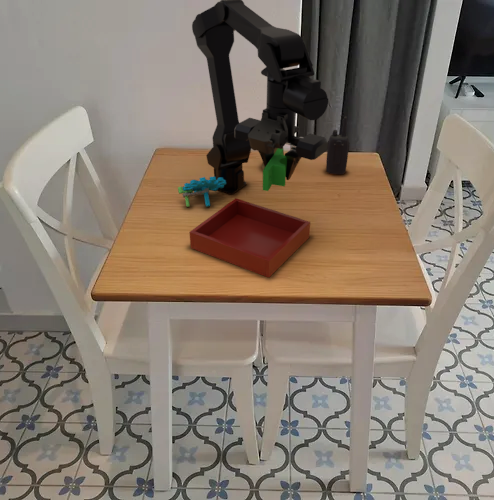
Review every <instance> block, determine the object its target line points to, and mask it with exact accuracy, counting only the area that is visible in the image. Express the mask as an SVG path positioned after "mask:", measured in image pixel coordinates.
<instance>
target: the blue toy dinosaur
mask: <svg viewBox="0 0 494 500" xmlns="http://www.w3.org/2000/svg"><path fill="white" fill-rule="evenodd" d="M183 184H184V186H178V187H177V191H178V194H179V195H180V194H181V195H182V198H184V200H185V205H186V208H189V207H190V206H191V204H190V199H189V198H191V197H192V198H193V197H197V196H203V197H204V203H205V207H207V208H208V207H211V201H210V195H209V194H210V191H213V192H217V191H219V190H218V188H224V185H226V180H224V179H223V178H221V177H219V178H218V179H217V180H216V177H215V176H214V175H213V176H209V179H207V178H206V177H205V176H202V177H199V180H196V179H191V180H189V182H186V183H183Z"/></svg>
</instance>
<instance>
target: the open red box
mask: <svg viewBox="0 0 494 500" xmlns="http://www.w3.org/2000/svg"><path fill="white" fill-rule="evenodd" d="M310 233H311V221H308V220H305V219H303V218H299V217H296V216H293V215H290V214H286V213H284V212H280V211H278V210H274V209H271V208H268V207H266V206H265V207H264V206H262V205H259V204H255V203H252V202H249V201H246V200H243V199H240V198H237V197H236V198H234V199H232V200H231V201H230V202H229V203H227V204H226V205H224V206H223V207H221V208H220V209H218V210H217V211H216V212H215V213H213V214H212V215H211V216H209V217H208V218H207V219H205V220H204V221H202V222H201V223H200V224H199V225H196V226H195V227H194V228H193V229H192V230H190V231H189V244H190V249H192V250H194V251H198V252H201V253H203V254H206V255H208V256H210V257H213V258H216V259H219V260H221V261H224V262H226V263H230V264H232V265H235V266H237V267H239V268H242V269H245V270H248V271H251V272H253V273H256V274H258V275H261V276H264V277H266V278H270V277H271V276H272V275H273V274H274V273H275V272H276V271H278V269H280V267H281V266H282V265H284V263H285V262H286V261H287V260H288V259H289V258H291V257H292V256H293V255H294V253H296V251H297V250H299V249H300V248H301V246H303V244H304V243H306V242H307V240H308V239H310Z"/></svg>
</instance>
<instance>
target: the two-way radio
mask: <svg viewBox="0 0 494 500" xmlns="http://www.w3.org/2000/svg"><path fill="white" fill-rule="evenodd" d="M347 126H348V117H347V116H346V115H345V116H344V117H343V121H342V130H341V134H338V130H337V129H333V130H332V134H331V135H330V136H329V138H328V141H327V142H328V145H327V151H326V159H325V160H326V166H325V172H326V173H328V174H331V175H344V174H345V173H346V171H347V165H348V157H349V152H350V140H349V137H348V135H347Z"/></svg>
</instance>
